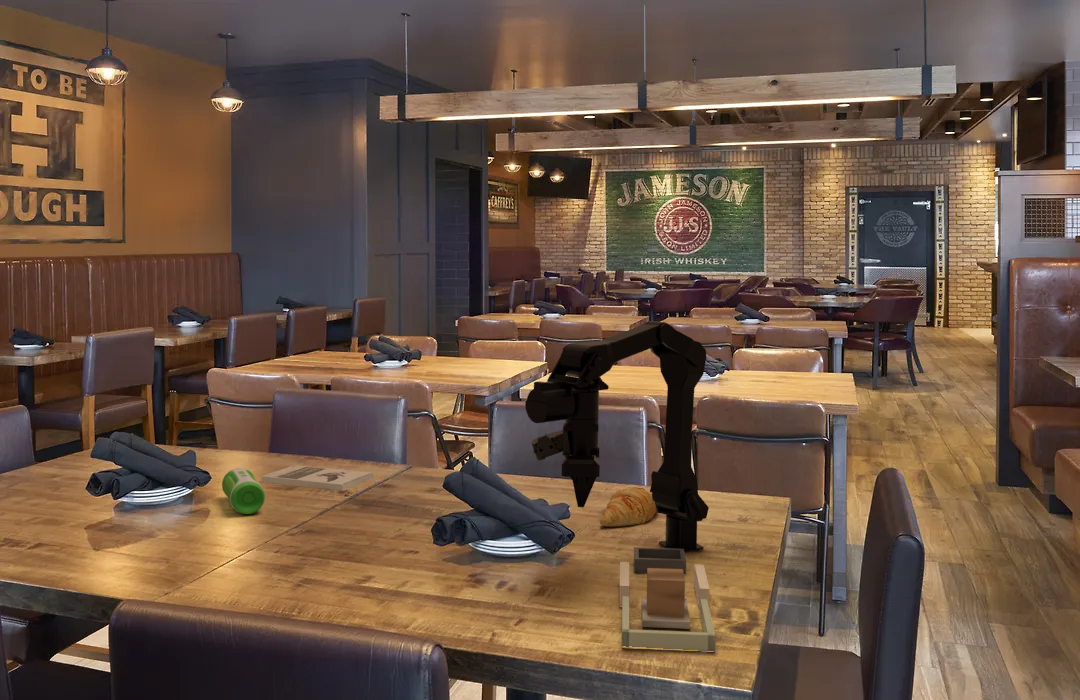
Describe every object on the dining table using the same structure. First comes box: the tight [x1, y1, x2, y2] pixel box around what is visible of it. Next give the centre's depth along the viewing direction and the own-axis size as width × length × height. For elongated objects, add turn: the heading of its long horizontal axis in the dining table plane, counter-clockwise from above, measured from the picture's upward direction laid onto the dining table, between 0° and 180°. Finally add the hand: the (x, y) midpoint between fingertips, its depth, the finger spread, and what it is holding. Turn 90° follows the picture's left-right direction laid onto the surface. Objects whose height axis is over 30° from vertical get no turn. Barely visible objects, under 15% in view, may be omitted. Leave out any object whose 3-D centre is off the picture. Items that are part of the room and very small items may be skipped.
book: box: [260, 464, 374, 492], centre depth 239 cm, size 23×14×2 cm, turn 69°
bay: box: [621, 595, 716, 652], centre depth 144 cm, size 14×13×2 cm
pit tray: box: [633, 546, 687, 575], centre depth 173 cm, size 7×9×2 cm
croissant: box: [599, 486, 657, 527], centre depth 206 cm, size 21×10×8 cm, turn 143°
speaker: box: [221, 467, 266, 515], centre depth 213 cm, size 18×7×8 cm, turn 25°
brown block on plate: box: [641, 568, 691, 630], centre depth 149 cm, size 10×7×6 cm
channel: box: [619, 561, 710, 610], centre depth 159 cm, size 12×14×4 cm
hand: (580, 506), depth 168 cm, fingers closed
